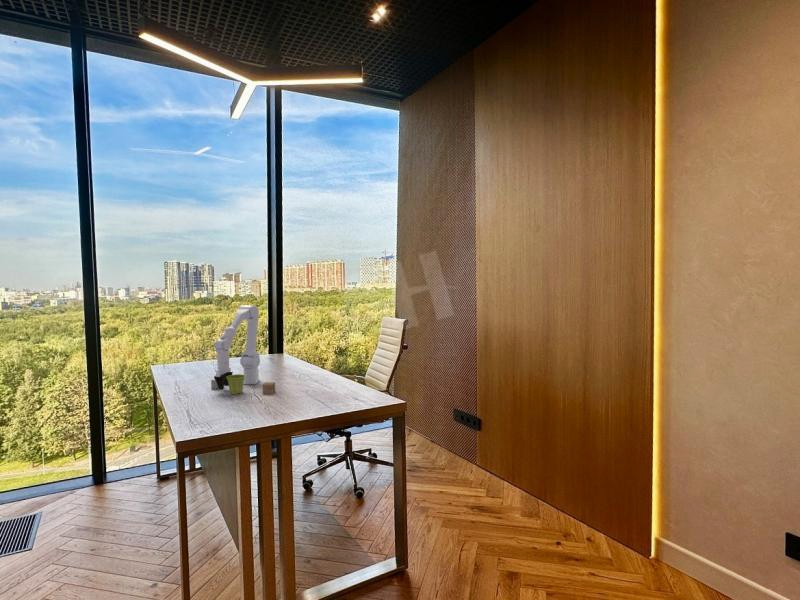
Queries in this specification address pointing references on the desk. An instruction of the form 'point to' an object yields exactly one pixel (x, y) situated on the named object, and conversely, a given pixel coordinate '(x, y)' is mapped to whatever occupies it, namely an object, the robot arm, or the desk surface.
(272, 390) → the walnut block
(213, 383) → the slate block
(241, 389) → the plant pot
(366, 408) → the desk surface
